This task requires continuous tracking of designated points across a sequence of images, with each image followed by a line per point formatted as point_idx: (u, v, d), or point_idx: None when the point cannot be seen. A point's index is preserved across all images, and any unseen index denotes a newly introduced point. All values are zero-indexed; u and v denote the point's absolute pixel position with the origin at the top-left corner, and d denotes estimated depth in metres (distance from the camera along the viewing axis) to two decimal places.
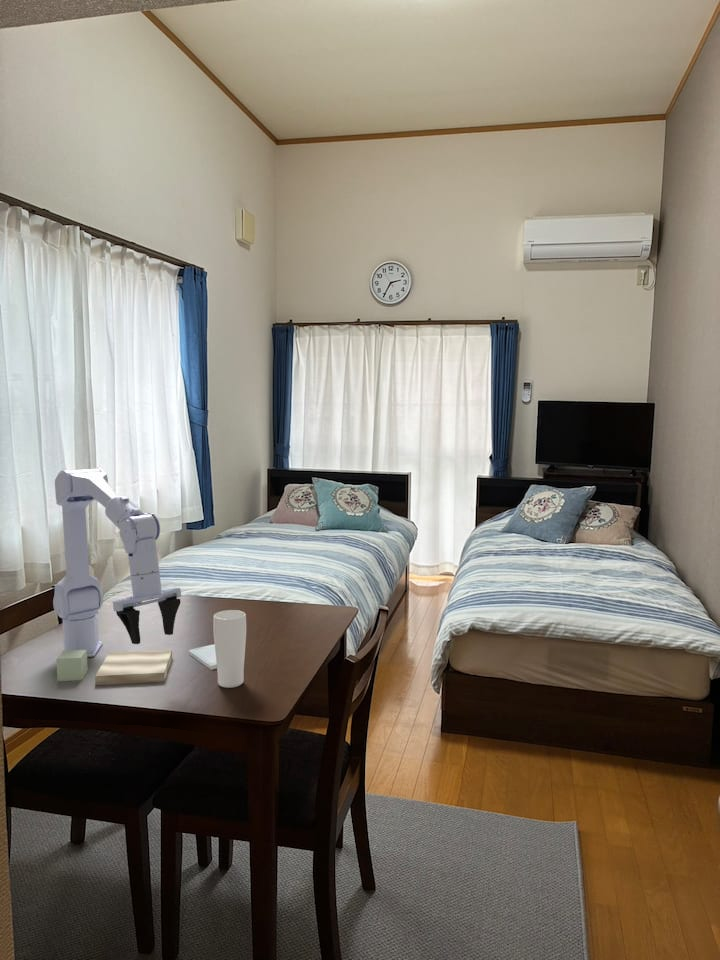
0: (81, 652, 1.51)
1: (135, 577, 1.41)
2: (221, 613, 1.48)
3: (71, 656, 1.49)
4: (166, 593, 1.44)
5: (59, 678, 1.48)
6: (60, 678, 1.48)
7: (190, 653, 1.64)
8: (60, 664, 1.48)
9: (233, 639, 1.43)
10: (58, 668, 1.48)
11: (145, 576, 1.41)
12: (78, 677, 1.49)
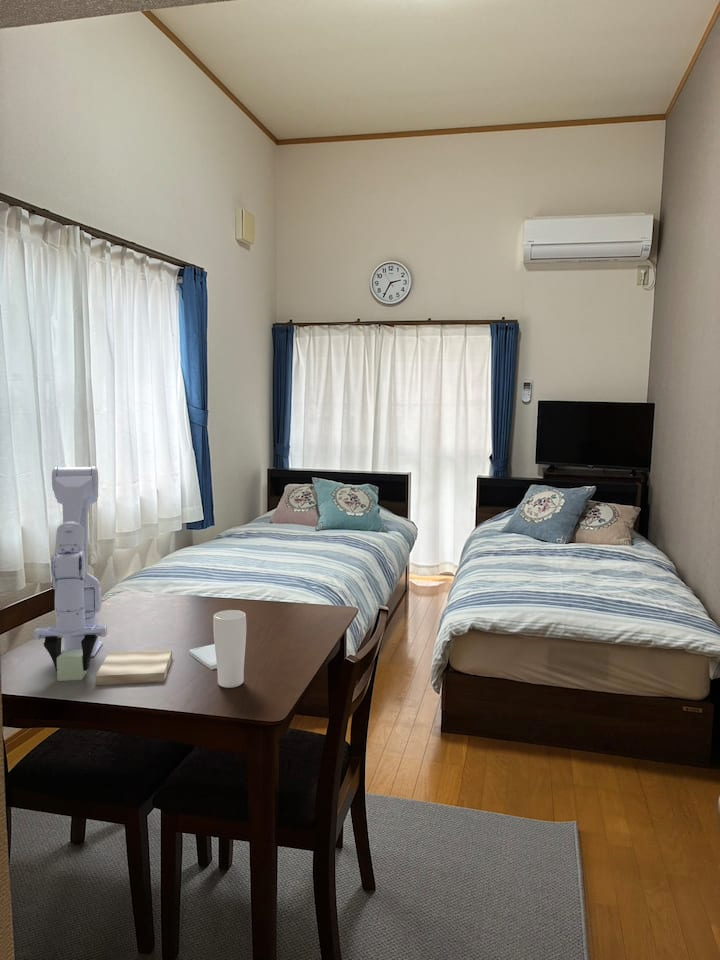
0: (81, 652, 1.51)
1: (55, 611, 1.48)
2: (221, 613, 1.48)
3: (71, 656, 1.49)
4: (83, 632, 1.48)
5: (59, 677, 1.48)
6: (60, 677, 1.48)
7: (190, 653, 1.64)
8: (60, 664, 1.48)
9: (233, 639, 1.43)
10: (58, 667, 1.48)
11: (60, 613, 1.47)
12: (78, 676, 1.49)
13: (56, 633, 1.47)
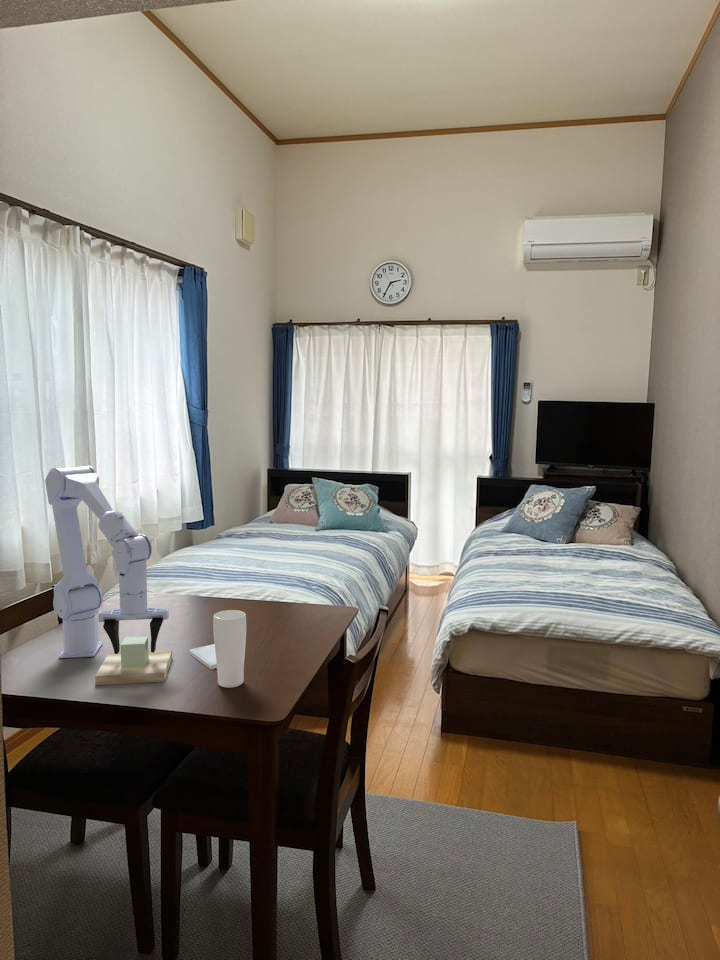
0: (143, 639, 1.54)
1: None
2: (221, 613, 1.48)
3: (134, 643, 1.51)
4: (147, 614, 1.51)
5: (123, 664, 1.51)
6: (124, 664, 1.51)
7: (190, 653, 1.64)
8: (123, 650, 1.50)
9: (233, 639, 1.43)
10: (122, 654, 1.51)
11: (124, 596, 1.49)
12: (141, 663, 1.51)
13: (120, 615, 1.50)
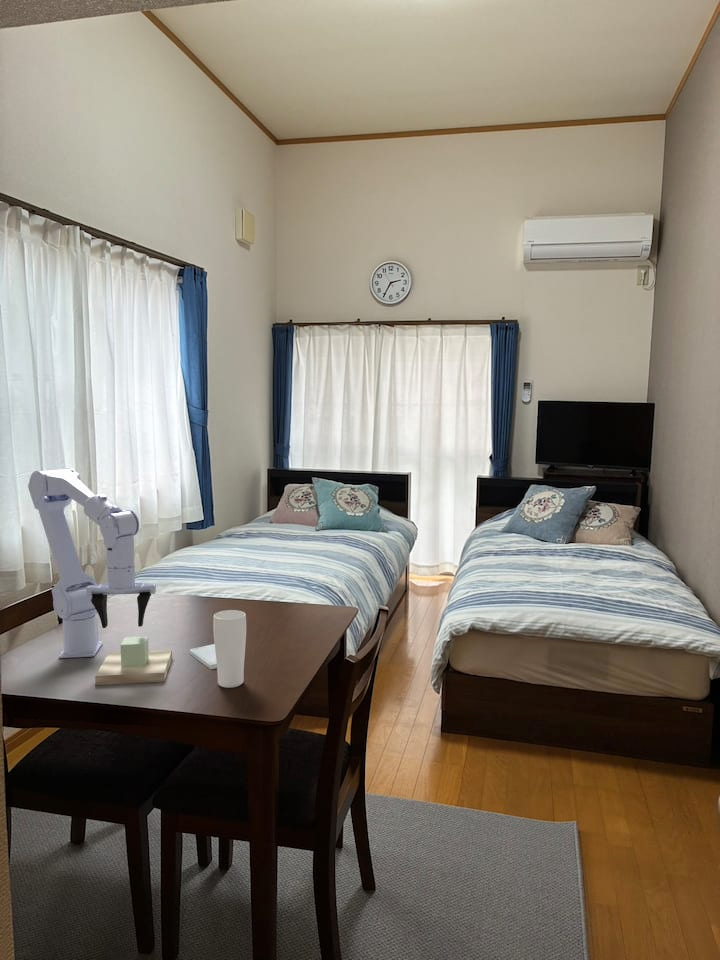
0: (143, 639, 1.54)
1: (107, 569, 1.53)
2: (221, 613, 1.48)
3: (134, 643, 1.51)
4: (134, 589, 1.53)
5: (123, 664, 1.51)
6: (124, 664, 1.51)
7: (190, 652, 1.64)
8: (123, 650, 1.50)
9: (233, 639, 1.43)
10: (122, 654, 1.51)
11: (112, 570, 1.51)
12: (141, 663, 1.51)
13: (108, 589, 1.52)
